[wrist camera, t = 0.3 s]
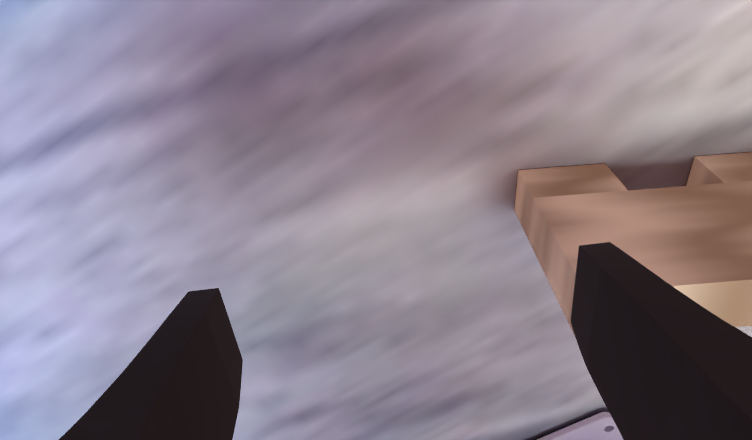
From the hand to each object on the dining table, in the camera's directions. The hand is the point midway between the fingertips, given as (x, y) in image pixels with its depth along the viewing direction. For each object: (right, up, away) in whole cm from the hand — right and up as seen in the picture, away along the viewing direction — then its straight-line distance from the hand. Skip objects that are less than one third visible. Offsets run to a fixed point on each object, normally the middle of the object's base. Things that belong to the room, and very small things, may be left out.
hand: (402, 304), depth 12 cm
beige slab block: (+10, +3, +10) cm, 15 cm away
